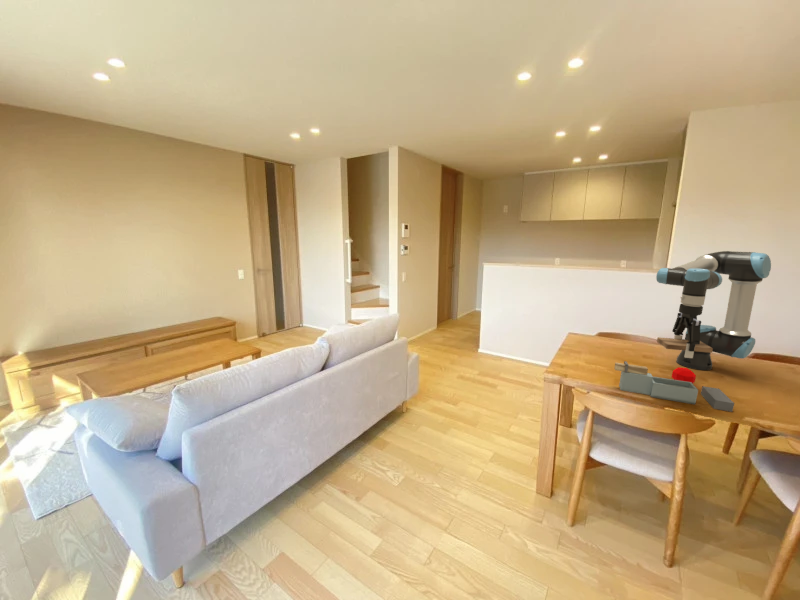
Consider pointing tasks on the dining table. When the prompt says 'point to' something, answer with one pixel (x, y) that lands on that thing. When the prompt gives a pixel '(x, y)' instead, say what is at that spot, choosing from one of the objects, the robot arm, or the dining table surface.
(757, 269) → the robot arm
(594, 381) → the dining table surface
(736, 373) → the dining table surface
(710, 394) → the block
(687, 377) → the ball
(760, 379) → the dining table surface
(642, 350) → the dining table surface
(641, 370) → the bar
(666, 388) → the open box
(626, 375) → the grey block with peg
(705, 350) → the lid
